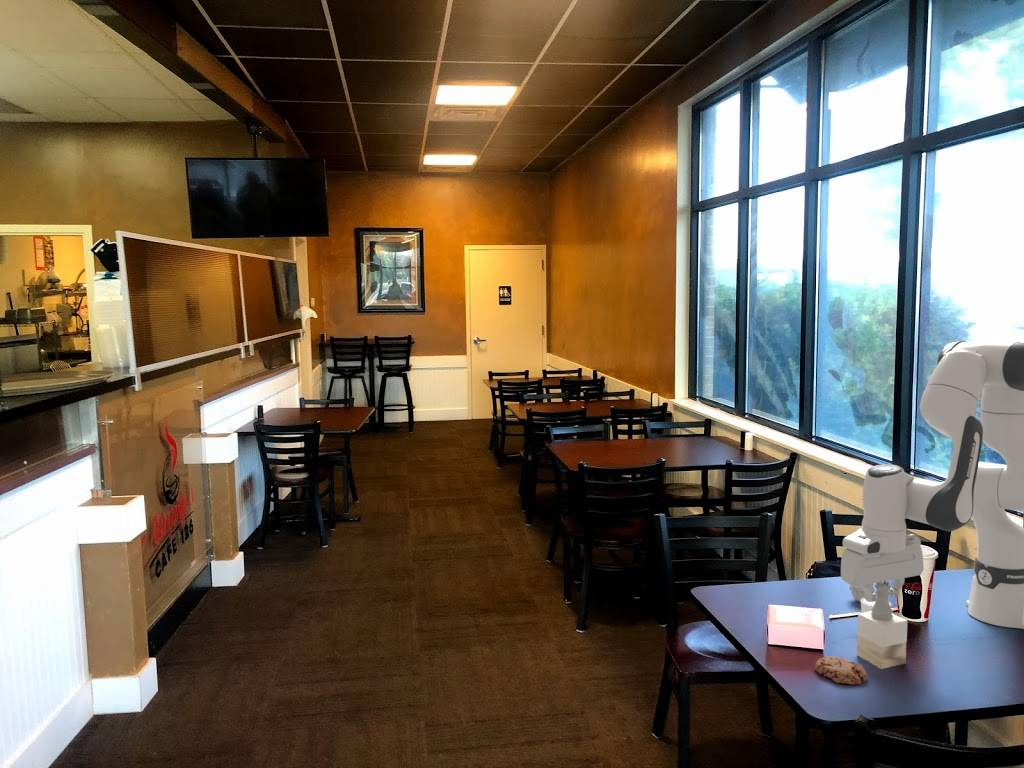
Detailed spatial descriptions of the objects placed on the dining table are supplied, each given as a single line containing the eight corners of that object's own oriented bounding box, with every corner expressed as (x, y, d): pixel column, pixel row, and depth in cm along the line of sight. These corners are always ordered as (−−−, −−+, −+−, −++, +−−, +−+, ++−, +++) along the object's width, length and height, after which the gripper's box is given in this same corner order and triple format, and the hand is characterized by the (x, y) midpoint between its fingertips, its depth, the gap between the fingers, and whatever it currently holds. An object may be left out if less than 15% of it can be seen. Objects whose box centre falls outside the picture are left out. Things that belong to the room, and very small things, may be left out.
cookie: (818, 661, 171) (818, 648, 171) (869, 671, 166) (870, 658, 166) (810, 679, 163) (810, 666, 163) (864, 691, 158) (864, 677, 157)
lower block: (880, 650, 175) (881, 629, 175) (905, 663, 169) (906, 641, 168) (856, 655, 173) (857, 634, 172) (881, 669, 166) (881, 647, 166)
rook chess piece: (890, 613, 171) (891, 579, 170) (895, 621, 167) (896, 586, 166) (868, 612, 172) (869, 578, 172) (873, 620, 168) (874, 585, 167)
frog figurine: (875, 598, 205) (876, 573, 205) (872, 608, 199) (873, 582, 199) (851, 595, 208) (851, 570, 208) (847, 603, 202) (848, 578, 202)
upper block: (881, 629, 175) (882, 608, 174) (906, 642, 168) (907, 620, 167) (857, 634, 172) (858, 613, 172) (882, 647, 166) (882, 625, 165)
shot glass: (894, 635, 182) (895, 607, 182) (863, 634, 184) (864, 606, 183) (886, 624, 189) (886, 597, 188) (856, 622, 191) (857, 595, 190)
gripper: (908, 529, 174) (907, 587, 176) (836, 540, 168) (835, 600, 169) (931, 536, 168) (930, 596, 170) (857, 548, 162) (856, 610, 163)
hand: (882, 598), depth 169 cm, fingers open, 5 cm apart
